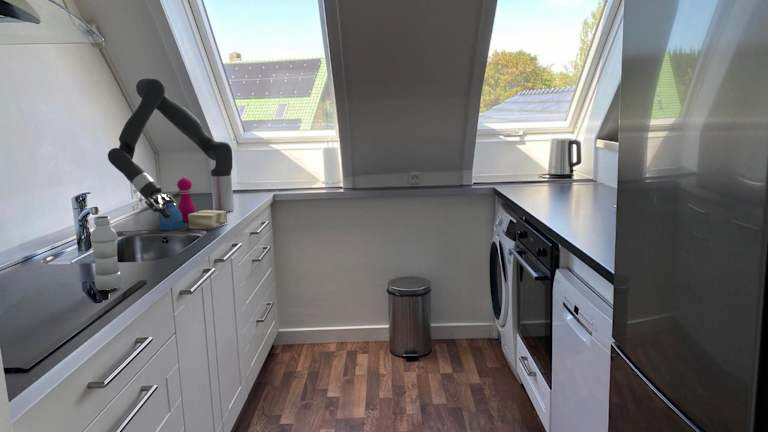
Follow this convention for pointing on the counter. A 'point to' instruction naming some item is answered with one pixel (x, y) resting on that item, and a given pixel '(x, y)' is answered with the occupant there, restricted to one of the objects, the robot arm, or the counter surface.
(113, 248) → the plastic bottle
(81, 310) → the counter surface
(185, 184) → the pepper mill
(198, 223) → the birch block
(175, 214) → the perfume bottle
